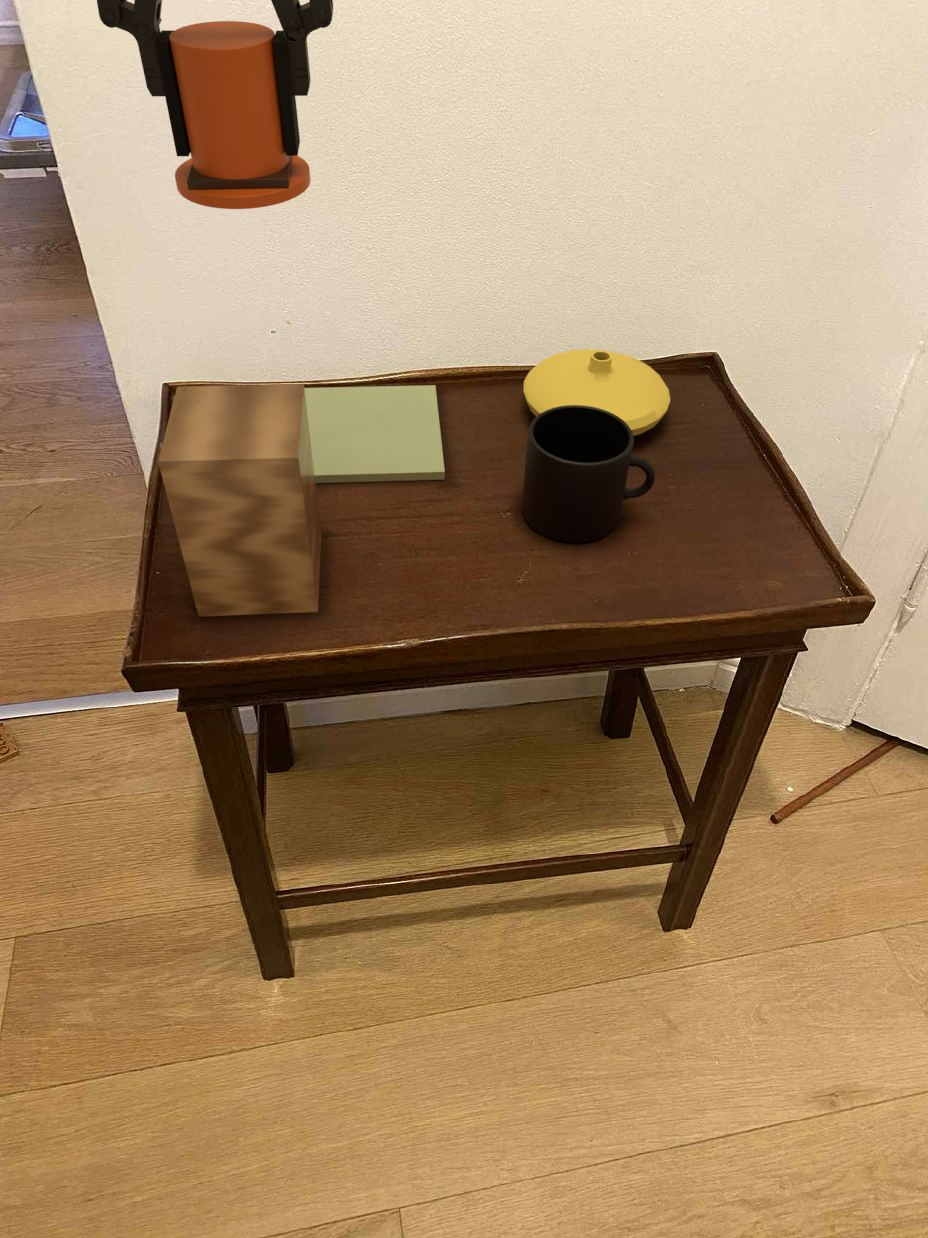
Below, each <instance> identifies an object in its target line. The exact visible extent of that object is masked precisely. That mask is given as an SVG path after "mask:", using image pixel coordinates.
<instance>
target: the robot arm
mask: <svg viewBox="0 0 928 1238" xmlns="http://www.w3.org/2000/svg"><path fill="white" fill-rule="evenodd" d="M270 1H271V3H272V4H271V5H272V6H273V8H274V11H275V14H276V17H277V18H278V21H279V23H280V26H281V28H282V29H281V30H275V32H274V33H275V37H274V40H273V48H274V57H275V65H276V74H277V82H278V91H279V99H280V108H281V116H282V125H283V133H284V142H285V150H286V156H299V149H300V143H301V137H300V129H299V119H298V109H297V99H296V97H307V96H308V94H309V91H310V86H311V70H310V60H309V59H310V57H309V49H308V47H309V46H308V36H309V35H310V34H311V33H312V32H314V31H316V30H319V29H325V28H328V27H329V26H330V25H331V23H332V21H333V15H334V14H333V13H334V0H309V1H307V2H306V3H303V4H301V1H300V0H270ZM96 4H97V11H98V17H99V20H100V21H101V23H102V24H103V25H104V26H105V27H107V28H110V29H113V28H117V29H120V30H122V31H124V32H127V33H129V34H130V35H131V36H132V37H133V38H134V40H135V41H136V43H137V47H138V52H139V57H140V61H141V66H142V70H143V75H144V80H145V81H144V82H145V84H146V88H147V91H148V92H149V94H150V95H151V97H165V103H166V109H167V113H168V118H169V124H170V127H171V128H170V129H171V133H172V138H173V143H174V149H175V153H176V157H189V156H190V155H191V153H190V147H189V142H188V137H187V131H186V126H185V121H184V115H183V110H182V105H181V99H180V94H179V89H178V83H177V78H176V73H175V67H174V62H173V56H172V51H171V46H170V40H169V36H170V34H171V33H172V32H173V31H175V30H174V29H173V30H168V29H167V30H165V29H163V30H161V28H160V25H161V23H162V20H163V19H162V17H161V16H162V15H161V14H162V4H163V0H134V3H133V2H131V1H128V0H96Z"/></svg>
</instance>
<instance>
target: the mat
mask: <svg viewBox="0 0 928 1238" xmlns="http://www.w3.org/2000/svg"><path fill="white" fill-rule="evenodd" d="M304 388H305V397H306V406H307V414H308V423H309V432H310V441H311V450H312V458H313V467H314V476H315V484H336V483H371V482H372V483H373V482H405V481H406V482H407V481H409V482H410V481H441V480H443V481H444V480H445V479H446V468H445V459H444V450H443V441H442V432H441V424H440V423H441V422H440V414H439V405H438V404H439V403H438V396H437V386H436V384H430V385H429V384H428V385H427V384H426V385H425V384H424V385H384V386H383V385H382V386H381V385H380V386H378V385H377V386H375V385H374V386H336V387H335V386H334V387H329V386H327V387H304Z"/></svg>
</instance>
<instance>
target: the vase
mask: <svg viewBox="0 0 928 1238" xmlns="http://www.w3.org/2000/svg"><path fill="white" fill-rule="evenodd" d="M522 391H523V395H524V398H525V402H526V404H527V406H528V409H529V411H530V412H531V413H532V414H533V415H534V416H535V418H536V417H537V416H538V415H539V414H541V413H542V412H544V411H546V410H549V409H552V408H555V407H560V406H566V405H583V406H590V407H595V408H599V409H602V410H605V411H608V412H610V413H612V414H614V415H616V416H618V417H619V418H621V419H622V420H623V421H624V422H625V423H626V424H627V425H628V426H629V427H630V429H631V431H632V433H633V437H634V436H638V435H642V434H644V433H645V432H648V431H649V430H651V429H653V428H655V426H657V424H658V423H659V422H660V421H661V420H662V419H663V417H664V416H665V414H666V413H667V412H668V408H669V406H670V403H671V396H670V389H669V388H668V386H667V384H666V383H665V382H664V380H663V378H662V377H661V375H660V374H659V373H658V372H657V371H655V370H654V369H653V368H652V366H650V365H648V364H646V363H645V362H643V361H641V360H639V359H637V358H635V357H632V356H629V355H625V354H623V353H619V352H614V351H609V350H603V349H587V348H586V349H574V350H568V351H563V352H559V353H555V354H553V355H551V356H548V357H546V358H543V360H541V361H540V362H539V363H537V364H536V365H535V366H534V367H533V368H532V369H531V370H529V372H528V373H527V375H526V377H525V378H524V380H523V390H522Z"/></svg>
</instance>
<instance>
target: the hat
mask: <svg viewBox="0 0 928 1238" xmlns="http://www.w3.org/2000/svg"><path fill="white" fill-rule="evenodd" d="M275 33H276V32H275V31H274V30H273V29H272V28H270V27H268V26H266V25H263V24H261V23H255V22H250V21H249V22H248V21H237V20H236V21H235V20H218V21H217V20H216V21H206V22H198V23H193V24H189V25H184V26H181V27H179V28H177V29H175V30H174V31H173V32H172V33H171V34H170V36H169V40H170V46H171V51H172V56H173V62H174V67H175V73H176V78H177V83H178V89H179V94H180V99H181V105H182V110H183V115H184V121H185V126H186V131H187V137H188V142H189V147H190V158H188V159H187V160H185V161H184V162H182V163H181V164H180V165H179V166H178V167H177V168H176V170H175V172H174V180H175V185H176V189H177V192H179V194H180V196H181V197H183V198H184V199H186V200H187V201H189V202H190V203H191V202H192V203H194V204H196V205H199V206H204V207H207V208H208V207H209V208H212V209H213V208H214V209H223V210H249V209H258V208H265V207H270V206H275V205H279V204H282V203H285V202H289V201H290V200H292V199H295V198H297V197H299V196H300V195H302V194H303V193H305V192H306V191H307V190H308V188H309V187H310V184H311V171H310V166H309V164H308V162H307V161H306V160H305V159H304V158H303V157H300V156H299V155H298V156H286V150H285V142H284V133H283V125H282V116H281V108H280V99H279V91H278V82H277V74H276V65H275V57H274V48H273V40H274V37H275Z"/></svg>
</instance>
